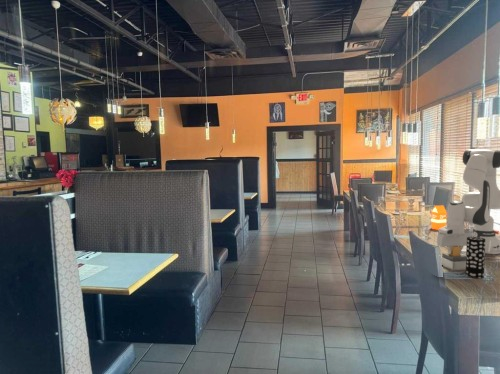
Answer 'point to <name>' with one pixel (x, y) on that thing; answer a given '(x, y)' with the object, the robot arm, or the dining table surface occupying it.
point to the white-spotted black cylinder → (475, 257)
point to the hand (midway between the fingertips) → (454, 253)
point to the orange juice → (438, 217)
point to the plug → (455, 250)
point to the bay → (453, 265)
